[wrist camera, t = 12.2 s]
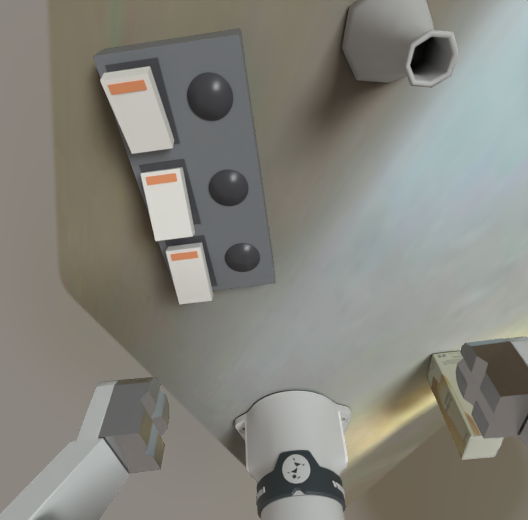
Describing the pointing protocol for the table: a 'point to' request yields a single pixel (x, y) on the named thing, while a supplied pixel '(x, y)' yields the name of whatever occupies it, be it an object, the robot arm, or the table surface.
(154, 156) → the grey rocker switch panel
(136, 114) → the rocker
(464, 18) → the table surface
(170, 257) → the rocker
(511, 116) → the table surface
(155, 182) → the rocker middle
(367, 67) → the flask
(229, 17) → the table surface
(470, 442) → the skincare box
